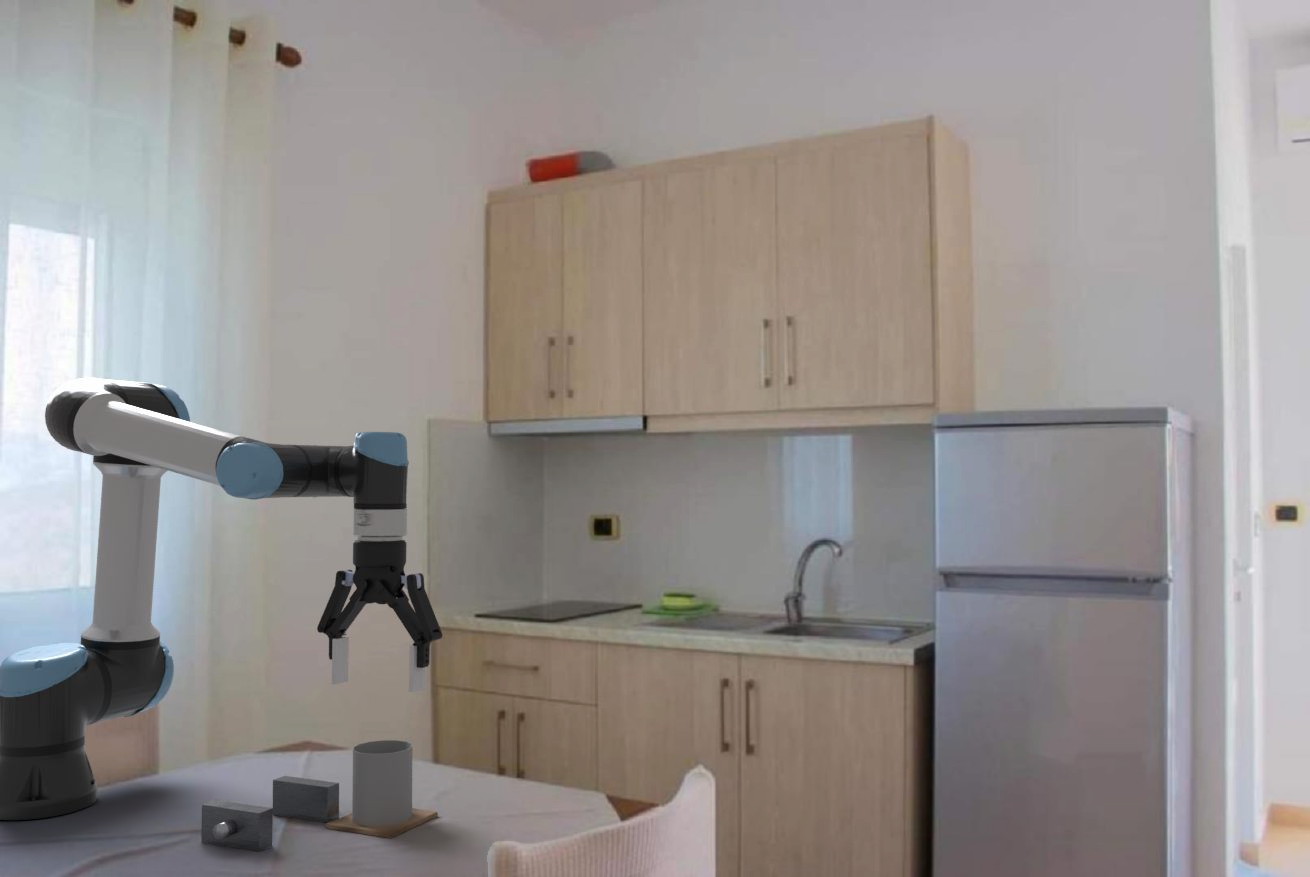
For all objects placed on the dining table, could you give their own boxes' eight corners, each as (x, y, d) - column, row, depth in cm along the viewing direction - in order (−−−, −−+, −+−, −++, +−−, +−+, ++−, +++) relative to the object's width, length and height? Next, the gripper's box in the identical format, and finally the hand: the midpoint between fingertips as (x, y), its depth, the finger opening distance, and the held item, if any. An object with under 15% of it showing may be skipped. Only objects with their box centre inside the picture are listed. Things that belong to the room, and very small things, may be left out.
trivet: (326, 828, 158) (326, 824, 158) (375, 807, 168) (375, 803, 168) (390, 838, 153) (390, 833, 153) (437, 815, 164) (437, 811, 164)
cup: (396, 828, 156) (397, 755, 156) (341, 825, 157) (342, 752, 158) (421, 810, 164) (421, 741, 164) (368, 807, 166) (369, 739, 166)
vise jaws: (189, 846, 150) (190, 808, 150) (294, 806, 168) (294, 772, 169) (247, 856, 146) (247, 817, 146) (347, 814, 164) (348, 779, 165)
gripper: (294, 537, 164) (291, 683, 164) (437, 542, 154) (435, 698, 154) (328, 534, 171) (326, 675, 171) (467, 539, 161) (465, 689, 160)
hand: (377, 686), depth 162 cm, fingers open, 13 cm apart
